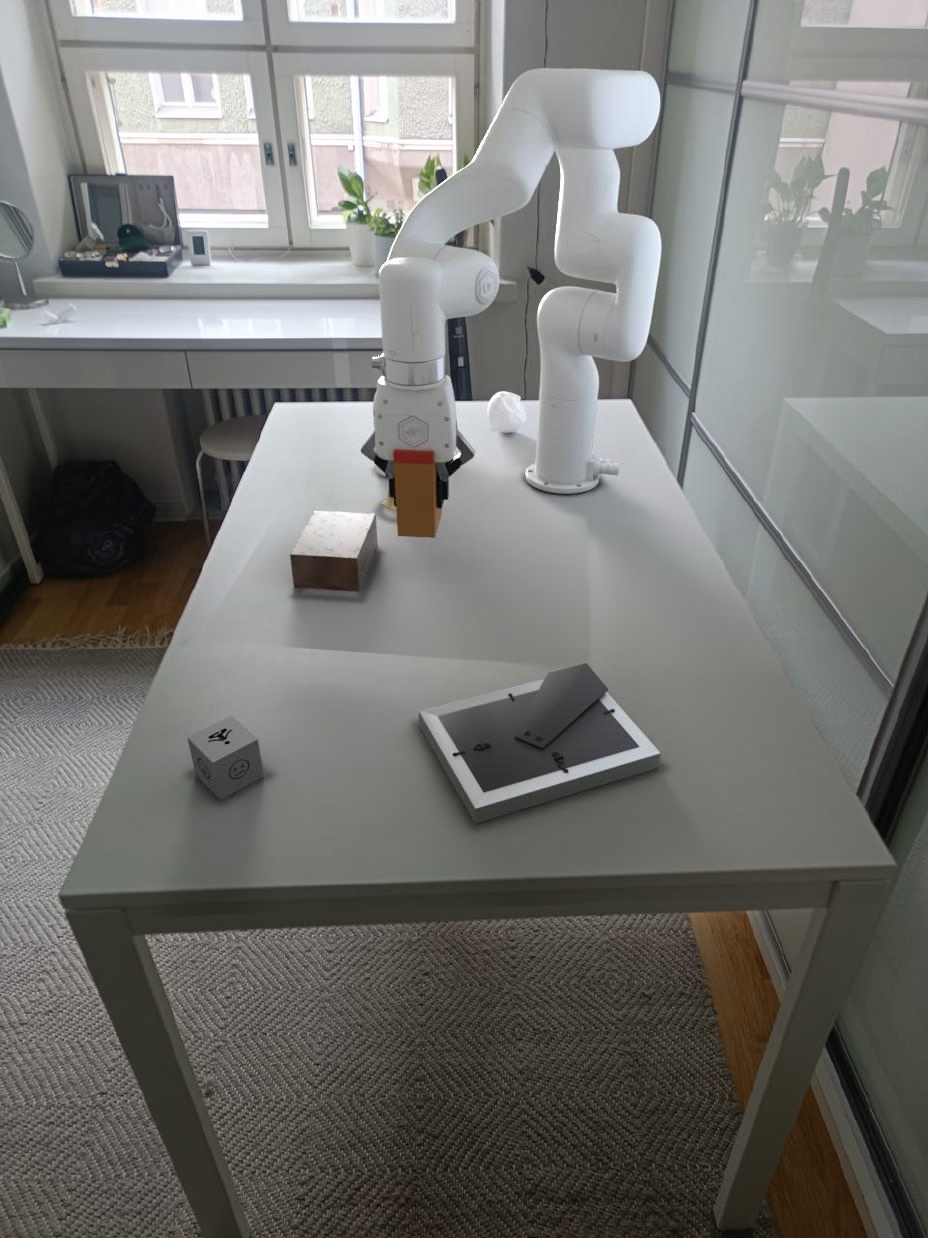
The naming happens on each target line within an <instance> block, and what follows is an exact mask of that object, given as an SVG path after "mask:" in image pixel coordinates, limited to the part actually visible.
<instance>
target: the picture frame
mask: <svg viewBox="0 0 928 1238" xmlns="http://www.w3.org/2000/svg"><path fill="white" fill-rule="evenodd" d="M608 691H609V688H608V687H607V686H606V684H605V682H603V681H602V680H601V678H600V677H599V676H598V675H597V674H596V673H595V671H594V670H593V669H592V667H591V666H590V665H589V664H588V663H587V662H585V663H581V664H577V665H572V666H570V667H565V668H561V669H558V670H554V671H553V670H552V671H549V672H546V676H545V677H544V678H542V679H538V680H535V681H534V680H533V681H530V682H525V683H522V684H518V685H514V686H510V687H507V688H503V689H499V690H495V691H490V692H487V693H483V694H479V695H475V696H472V697H467V698H463V699H460V700H455V701H452V702H448V703H444V704H440V705H436V706H431V707H428V708H424V709H420V710H418V725H419V728H420V729H421V731H422V733H423V734H424V736H425V738H426V740H427V742H428V744H429V745H430V747H431V749H432V751H433V753H434V754H435V755H436V758H437V759H438V761H439V763H440V765H441V766H442V768H443V770H444V772H445V773H446V775H447V777H448V779H449V780H450V782H451V784H452V785H453V787H454V790H455V792H456V793H457V794H458V796H459V798H460V800H461V802H462V803H463V805H464V807H465V808H466V809H465V810H466V811H467V812H468V814H469V816H470V817H471V819H472V821H473V823H474V824H475V825H477V824H480V823H483V822H486V821H490V820H493V819H496V818H500V817H502V816H503V817H504V816H507V815H510V814H512V813H516V812H519V811H522V810H526V809H529V808H531V807H536V806H539V805H542V804H545V803H548V802H552V801H554V800H558V799H562V798H565V797H568V796H572V795H575V794H577V793H581V792H584V791H588V790H591V789H594V788H597V787H601V786H604V785H608V784H610V783H614V782H617V781H620V780H623V779H627V778H630V777H633V776H636V775H640V774H643V773H647V772H650V771H653V770H656V769H659V766H660V760H661V755H662V752H661V751H660V750H659V749H658V748H657V747H656V746H655V745H654V744H653V743H652V742H651V740H650V739H649V738H648V737H647V735H645V733H644V732H643V731H642V730H641V729H640V727H639V726H638V725H637V724H636V723H635V722H634V721H633V720H632V718H631V717H630V716H629V715H628V714H627V713H626V711H624V709H622V707H621V706H620V705H619V704H618V703H617V702H616V701H615V699H614V698H613V697H612V696H611V695H610V694H609V692H608Z"/></svg>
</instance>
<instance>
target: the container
mask: <svg viewBox="0 0 928 1238" xmlns="http://www.w3.org/2000/svg"><path fill="white" fill-rule="evenodd" d="M393 455H394V473H395V492H396V511H395V512H396V526H397V527H396V528H397V536H398V537H410V538H431V539H435V538H436V536H437V533H438V528H439V525H440V522H441V521H440V520H441V518H442V515H443V508H442V509H441V508H438V507H437V502H436V481H437V477H438V471H437V468H436V463H434V451H418V450H396V449H394V452H393Z"/></svg>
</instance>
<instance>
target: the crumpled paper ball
mask: <svg viewBox="0 0 928 1238" xmlns="http://www.w3.org/2000/svg"><path fill="white" fill-rule="evenodd" d="M521 398H522V397H521V396H520V395H518V394H516V393H513V392H511V391H506V390H505V391H504V390H503V391H498V392H496V393H495V394H494V395H493V396H492V397H491V398H490V400H489V402H488V404H487V410H486V411H487V412H486V414H487V419H488V422H489V423H490V425H491V426H492V428H494V429H495V430H497V431H498V432H501V433H508V434H510V433H514V432H517V431H519V430H521V429H522V428H523V427H524V425H525V424H526V422H527V420H528V419H527V409H526V408H525V406H524V404H522V402H521V400H522V399H521Z"/></svg>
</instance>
